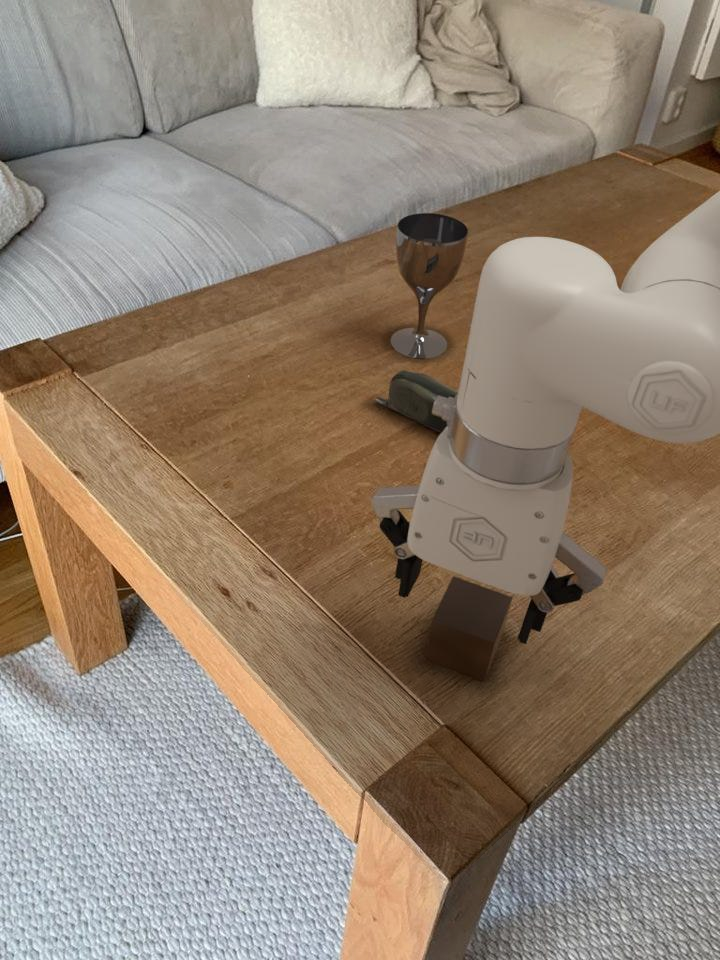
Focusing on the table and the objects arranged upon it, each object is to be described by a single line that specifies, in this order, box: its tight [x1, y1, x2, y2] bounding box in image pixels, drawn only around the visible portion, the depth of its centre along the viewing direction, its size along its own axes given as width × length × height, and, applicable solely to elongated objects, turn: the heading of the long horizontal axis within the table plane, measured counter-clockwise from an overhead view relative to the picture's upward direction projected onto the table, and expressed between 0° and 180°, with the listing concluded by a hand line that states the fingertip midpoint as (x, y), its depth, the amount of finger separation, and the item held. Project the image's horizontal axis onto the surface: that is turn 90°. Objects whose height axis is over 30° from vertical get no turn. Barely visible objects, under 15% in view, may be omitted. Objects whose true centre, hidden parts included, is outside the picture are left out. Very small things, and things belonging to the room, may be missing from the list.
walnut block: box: [424, 575, 513, 683], centre depth 65 cm, size 5×5×5 cm
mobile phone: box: [374, 370, 458, 434], centre depth 87 cm, size 5×3×15 cm
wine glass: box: [389, 212, 469, 360], centre depth 97 cm, size 8×8×15 cm
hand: (466, 606), depth 64 cm, fingers open, 9 cm apart
